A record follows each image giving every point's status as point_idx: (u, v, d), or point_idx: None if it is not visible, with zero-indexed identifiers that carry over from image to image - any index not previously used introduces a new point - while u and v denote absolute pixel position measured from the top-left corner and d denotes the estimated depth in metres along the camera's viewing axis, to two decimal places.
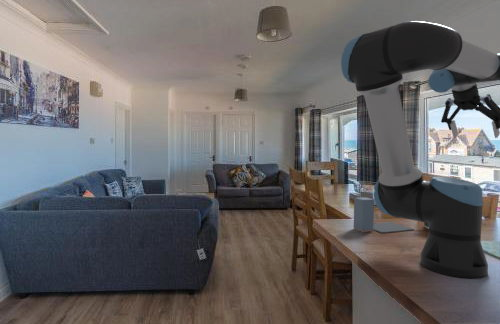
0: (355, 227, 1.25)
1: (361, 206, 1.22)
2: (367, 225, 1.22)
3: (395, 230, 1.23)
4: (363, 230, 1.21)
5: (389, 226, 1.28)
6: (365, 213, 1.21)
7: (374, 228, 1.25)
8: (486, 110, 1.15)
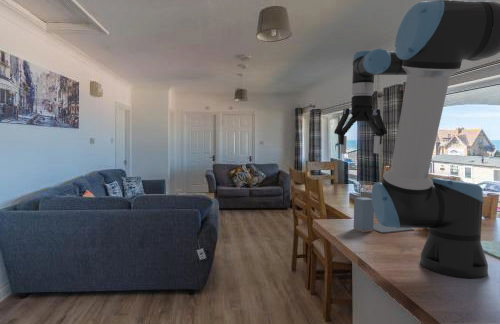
0: (355, 227, 1.25)
1: (361, 206, 1.22)
2: (367, 225, 1.22)
3: (395, 230, 1.23)
4: (363, 230, 1.21)
5: None
6: (365, 213, 1.21)
7: (374, 228, 1.25)
8: None
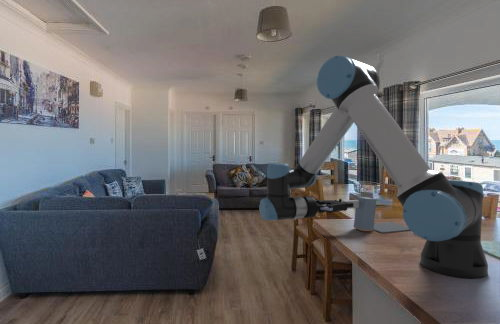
0: (355, 226, 1.25)
1: (363, 205, 1.22)
2: (368, 224, 1.22)
3: (395, 230, 1.23)
4: (363, 229, 1.21)
5: (389, 226, 1.28)
6: (367, 212, 1.22)
7: (374, 228, 1.25)
8: None
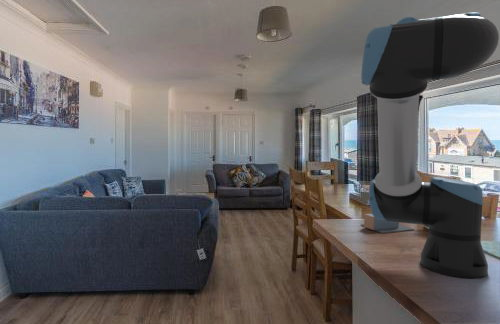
0: (368, 214, 1.26)
1: None
2: (378, 222, 1.23)
3: (395, 230, 1.23)
4: (374, 218, 1.23)
5: None
6: None
7: None
8: None
